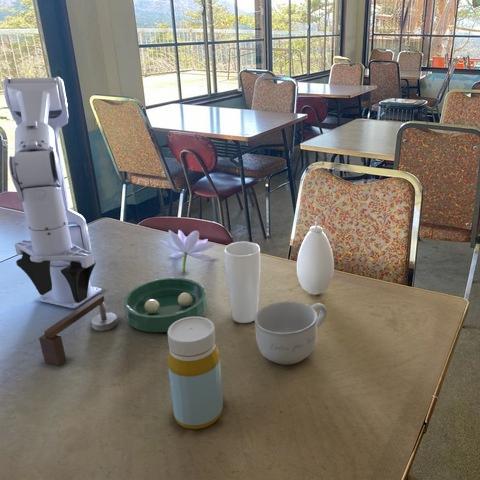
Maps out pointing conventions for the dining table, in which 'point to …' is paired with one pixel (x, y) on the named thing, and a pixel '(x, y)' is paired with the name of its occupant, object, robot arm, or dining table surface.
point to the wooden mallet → (52, 341)
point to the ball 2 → (185, 299)
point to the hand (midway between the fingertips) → (63, 296)
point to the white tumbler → (243, 279)
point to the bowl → (163, 303)
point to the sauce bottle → (315, 261)
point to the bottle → (194, 372)
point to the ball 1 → (151, 306)
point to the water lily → (188, 246)
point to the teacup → (288, 330)
